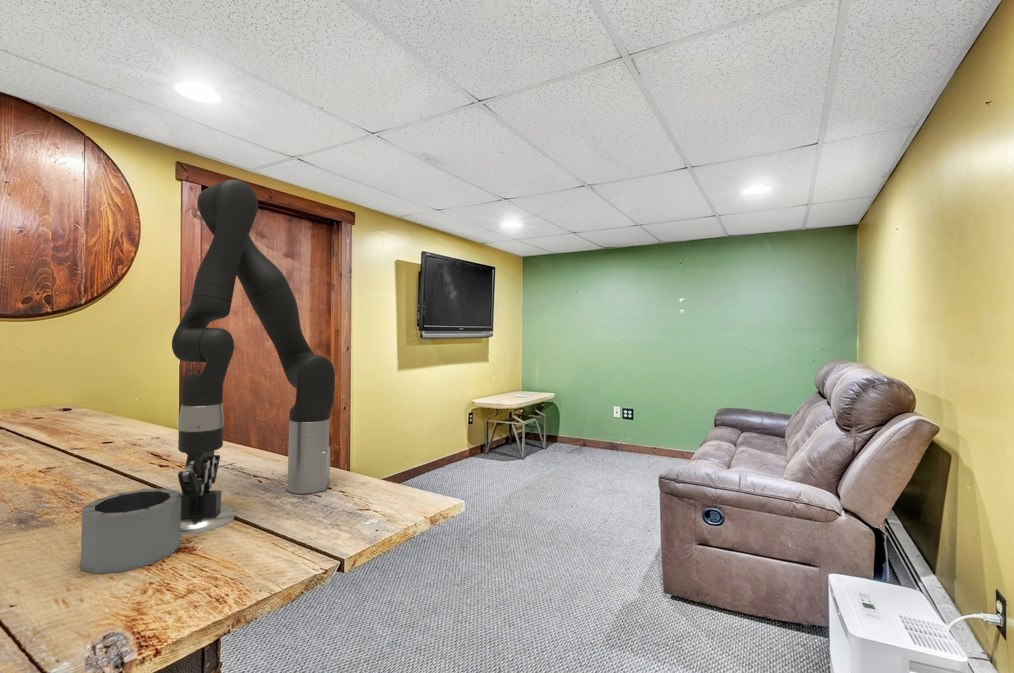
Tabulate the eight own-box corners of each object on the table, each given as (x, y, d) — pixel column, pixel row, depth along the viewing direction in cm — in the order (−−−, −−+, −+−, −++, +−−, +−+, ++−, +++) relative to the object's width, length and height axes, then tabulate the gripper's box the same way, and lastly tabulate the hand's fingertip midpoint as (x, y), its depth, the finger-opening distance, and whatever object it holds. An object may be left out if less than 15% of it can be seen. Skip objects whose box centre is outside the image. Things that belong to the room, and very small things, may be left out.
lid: (243, 509, 100) (244, 481, 100) (220, 533, 88) (221, 502, 88) (179, 512, 97) (180, 484, 97) (146, 537, 85) (147, 505, 85)
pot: (192, 534, 86) (193, 487, 86) (154, 569, 74) (156, 514, 74) (112, 539, 84) (114, 490, 84) (59, 576, 71) (61, 518, 71)
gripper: (207, 433, 86) (204, 524, 86) (234, 419, 100) (232, 498, 100) (162, 433, 85) (159, 526, 85) (196, 419, 98) (194, 500, 98)
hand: (199, 511), depth 92 cm, fingers closed on lid, 2 cm apart
